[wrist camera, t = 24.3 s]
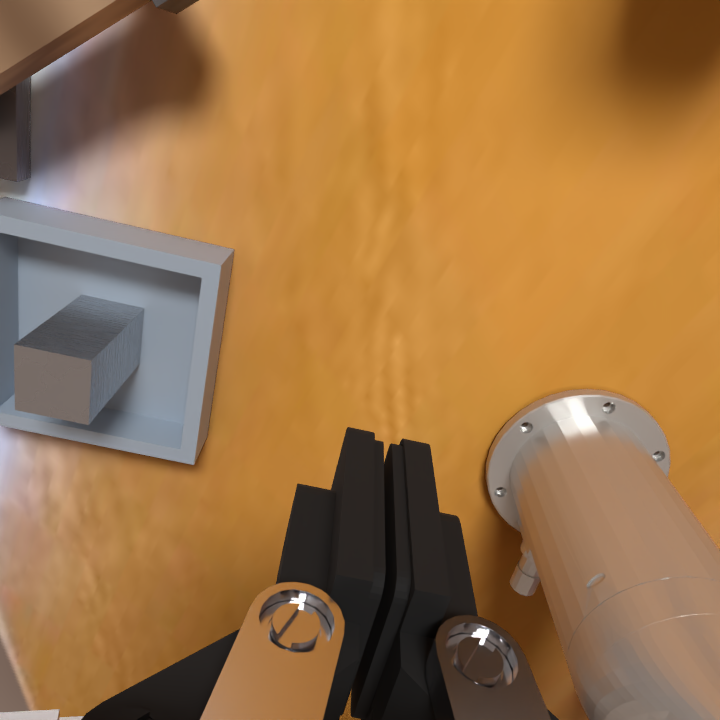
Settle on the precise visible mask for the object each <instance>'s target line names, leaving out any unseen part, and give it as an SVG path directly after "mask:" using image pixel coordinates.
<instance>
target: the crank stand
mask: <svg viewBox="0 0 720 720" xmlns="http://www.w3.org/2000/svg"><path fill="white" fill-rule="evenodd" d="M0 178H3V179H7V180H12V181H16V182H18V181H21V180H24V179H28V178H30V77H28V78H27V79H25V80H24V81H22V82H20V83H19V84H17V85H16V86H14V87H12V88H11V89H9V90H8V91H6V92H4V93H3V94H1V95H0Z"/></svg>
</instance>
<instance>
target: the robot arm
mask: <svg viewBox="0 0 720 720" xmlns="http://www.w3.org/2000/svg"><path fill="white" fill-rule="evenodd" d="M525 422H526V423H525ZM523 423H524V424H523ZM669 469H670V449H669V446H668V443H667V439H666V436H665V434H664V433H663V431H662V429H661V428H660V426H659V424H658V423H657V422H656V421H655V419H654V418H653V417H652V416H651V415H650V414H649V412H648V411H646V410H645V409H644V408H643V407H641V406H640V405H639V404H638V403H636V402H635V401H633V400H631V399H629V398H627V397H625V396H623V395H620V394H616V393H612V392H609V391H605V390H594V389H580V390H568V391H564V392H560V393H556V394H552V395H549V396H547V397H545V398H542V399H540V400H538V401H535V402H533V403H532V404H530V405H529V406H527V407H525V408H524V409H522V410H521V411H519V412H518V413H517V414H516V415H515V416H514V417H512V418H511V419H510V420H509V421H508V422H507V423H506V424H505V425H504V427H503V428H502V429H501V431H500V432H499V433H498V434H497V436H496V438H495V440H494V442H493V444H492V446H491V448H490V450H489V454H488V458H487V461H486V482H487V486H488V491H489V494H490V497H491V500H492V503H493V505H494V507H495V508H496V510H497V511H498V513H499V515H500V516H501V517H502V518H503V519H504V520H505V521H506V522H507V523H508V524H509V525H510V526H512V527H513V528H515V529H516V530H518V531H519V532H521V535H522V538H523V541H522V543H521V545H520V550H521V552H522V554H523V555H522V557H521V559H520V560H519V561H518V563H517V566H516V568H515V570H514V572H513V575H512V577H511V579H510V585H511V587H512V588H513V589H514V590H515V591H516V592H518V593H519V594H521V595H525V596H532V595H533V594H534V593H535V591H536V589H537V587H538V585H539V583H540V581H541V584H542V587H543V590H544V594H545V597H546V600H547V603H548V606H549V609H550V612H551V615H552V618H553V621H554V625H555V628H556V631H557V634H558V637H559V640H560V643H561V646H562V649H563V652H564V656H565V659H566V662H567V665H568V668H569V671H570V675H571V678H572V681H573V684H574V687H575V690H576V693H577V696H578V698H579V700H580V703H581V705H582V707H583V709H584V711H585V713H586V714H587V716H588V718H589V720H720V550H719V548H718V547H717V546H716V544H715V543H714V541H713V540H712V539H711V537H710V536H709V534H708V533H707V532H706V530H705V529H704V528H703V526H702V525H701V523H700V522H699V521H698V519H697V518H696V516H695V515H694V514H693V512H692V511H691V510H690V508H689V507H688V505H687V504H686V503H685V501H684V500H683V498H682V497H681V496H680V494H679V493H678V492H677V490H676V489H675V487H674V486H673V485H672V483H671V482H670V480H669V479H668V474H669ZM351 688H352V691H351ZM350 691H351V716H352V717H354V718H360V719H361V720H558V719H557V718H556V717H555V716H554V715H553V714H552V713H551V712H550V711H549V710H548V709H547V708H546V706H545V704H544V701H543V699H542V696H541V694H540V691H539V689H538V686H537V684H536V682H535V679H534V677H533V674H532V672H531V669H530V667H529V664H528V662H527V660H526V657H525V655H524V653H523V652H522V650H521V648H520V646H519V645H518V643H517V642H516V641H515V640H514V639H513V638H512V637H511V636H510V634H509V633H508V632H506V631H505V630H504V629H502V628H501V627H499V626H498V625H497V624H495V623H493V622H491V621H488V620H486V619H484V618H481V617H478V615H477V609H476V604H475V599H474V593H473V588H472V582H471V577H470V572H469V566H468V561H467V555H466V550H465V545H464V539H463V534H462V528H461V523H460V520H459V518H458V517H457V516H455V515H450V514H445V513H440V512H439V505H438V498H437V491H436V484H435V477H434V470H433V463H432V456H431V449H430V445H429V444H426V443H421V442H416V441H412V440H407V439H402V440H401V442H400V444H399V445H396V444H390V446H389V449H388V452H387V455H386V459H385V462H384V444H383V442H382V441H377V440H375V434H374V432H369V431H364V430H359V429H355V428H350V427H348V428H347V430H346V434H345V437H344V441H343V445H342V449H341V453H340V457H339V461H338V465H337V468H336V472H335V476H334V480H333V484H332V488H331V490H327V489H322V488H317V487H312V486H308V485H303V484H297V488H296V492H295V497H294V501H293V505H292V510H291V514H290V519H289V523H288V528H287V532H286V537H285V542H284V546H283V551H282V556H281V561H280V566H279V571H278V576H277V581H276V585H273V586H270V587H268V588H267V589H265V590H264V591H262V592H261V593H260V594H258V595H257V597H256V598H255V600H254V601H253V603H252V604H251V606H250V608H249V611H248V613H247V615H246V617H245V620H244V622H243V624H242V626H241V629H239V630H237V631H235V632H233V633H231V634H229V635H228V636H226V637H224V638H222V639H220V640H218V641H216V642H214V643H213V644H211V645H209V646H207V647H205V648H203V649H201V650H199V651H198V652H196V653H194V654H192V655H190V656H188V657H186V658H184V659H183V660H181V661H179V662H177V663H175V664H173V665H171V666H169V667H168V668H166V669H164V670H162V671H160V672H158V673H156V674H154V675H153V676H151V677H149V678H147V679H145V680H143V681H141V682H139V683H138V684H136V685H134V686H132V687H130V688H128V689H126V690H124V691H123V692H121V693H119V694H117V695H115V696H113V697H111V698H109V699H108V700H106V701H104V702H102V703H101V704H99V705H98V706H96V707H95V708H94V709H92V710H91V711H89V712H88V713H86V715H85V716H79V717H61V718H59V712H60V709H58V710H39V711H21V712H1V713H0V720H339V718H340V715H342V714H343V712H344V709H345V706H346V703H347V700H348V697H349V694H350Z"/></svg>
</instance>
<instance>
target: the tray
mask: <svg viewBox="0 0 720 720" xmlns="http://www.w3.org/2000/svg"><path fill="white" fill-rule="evenodd" d="M233 256H234V249H230V248H226V247H221V246H217V245H213V244H208V243H204V242H200V241H195V240H191V239H187V238H182V237H178V236H173V235H169V234H165V233H160V232H156V231H152V230H147V229H143V228H139V227H134V226H130V225H126V224H121V223H117V222H112V221H108V220H104V219H99V218H95V217H91V216H86V215H82V214H78V213H73V212H69V211H64V210H60V209H56V208H51V207H47V206H43V205H38V204H34V203H30V202H25V201H21V200H16V199H12V198H8V197H3V198H0V426H4V427H9V428H14V429H19V430H24V431H29V432H34V433H39V434H44V435H49V436H54V437H58V438H63V439H68V440H73V441H78V442H83V443H88V444H93V445H98V446H103V447H108V448H113V449H118V450H122V451H127V452H132V453H137V454H142V455H147V456H152V457H157V458H162V459H167V460H172V461H177V462H182V463H186V464H191V465H194V464H195V462H196V460H197V457H198V455H199V453H200V451H201V449H202V447H203V445H204V443H205V441H206V438H207V435H208V428H209V421H210V414H211V408H212V401H213V394H214V387H215V380H216V373H217V366H218V359H219V352H220V346H221V339H222V332H223V325H224V318H225V311H226V304H227V297H228V290H229V284H230V277H231V270H232V263H233ZM80 295H87V296H91V297H96V298H100V299H105V300H109V301H114V302H119V303H123V304H128V305H132V306H137V307H141V308H144V320H143V332H142V344H141V356H140V364H139V365H138V366H137V367H136V368H135V370H134V371H133V372H132V373H131V374H130V376H129V377H128V378H127V379H126V381H125V382H124V383H123V384H122V385H121V387H120V388H119V389H118V390H117V391H116V393H115V394H114V395H113V396H112V397H111V399H110V400H109V401H108V402H107V403H106V405H105V406H104V407H103V408H102V410H101V411H100V412H99V413H98V414H97V416H96V417H95V418H94V419H93V420H92V422H91V423H90V424H89V425H86V424H81V423H76V422H71V421H67V420H62V419H57V418H52V417H47V416H42V415H37V414H32V413H27V412H22V411H17V410H15V387H14V344H15V343H16V342H18V341H19V340H21V339H22V338H23V337H25V336H26V335H27V334H29V333H30V332H31V331H33V330H34V329H35V328H37V327H38V326H40V325H41V324H42V323H44V322H45V321H46V320H48V319H49V318H50V317H52V316H53V315H54V314H56V313H57V312H58V311H60V310H61V309H63V308H64V307H65V306H67V305H68V304H69V303H71V302H72V301H73V300H75V299H76V298H77V297H79V296H80Z"/></svg>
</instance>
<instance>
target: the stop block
mask: <svg viewBox="0 0 720 720" xmlns="http://www.w3.org/2000/svg"><path fill="white" fill-rule="evenodd" d="M143 320H144V308H141V307H137V306H132V305H128V304H123V303H119V302H114V301H109V300H105V299H100V298H96V297H91V296H87V295H80V296H79V297H77V298H76V299H75V300H73V301H72V302H71V303H69V304H68V305H67V306H65V307H64V308H63V309H61V310H60V311H58V312H57V313H56V314H54V315H53V316H52V317H50V318H49V319H48V320H46V321H45V322H44V323H42V324H41V325H40V326H38V327H37V328H35V329H34V330H33V331H31V332H30V333H29V334H27V335H26V336H25V337H23V338H22V339H21V340H19V341H18V342H16V343H15V344H14V387H15V410H17V411H22V412H27V413H32V414H37V415H42V416H47V417H52V418H57V419H62V420H67V421H71V422H76V423H81V424H86V425H89V424H90V423H91V422H92V420H93V419H94V418H95V417H96V416H97V414H98V413H99V412H100V411H101V410H102V408H103V407H104V406H105V405H106V403H107V402H108V401H109V400H110V399H111V397H112V396H113V395H114V394H115V393H116V391H117V390H118V389H119V388H120V387H121V385H122V384H123V383H124V382H125V381H126V379H127V378H128V377H129V376H130V374H131V373H132V372H133V371H134V370H135V368H136V367H137V366H138V365H139V364H140V356H141V344H142V332H143Z"/></svg>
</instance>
